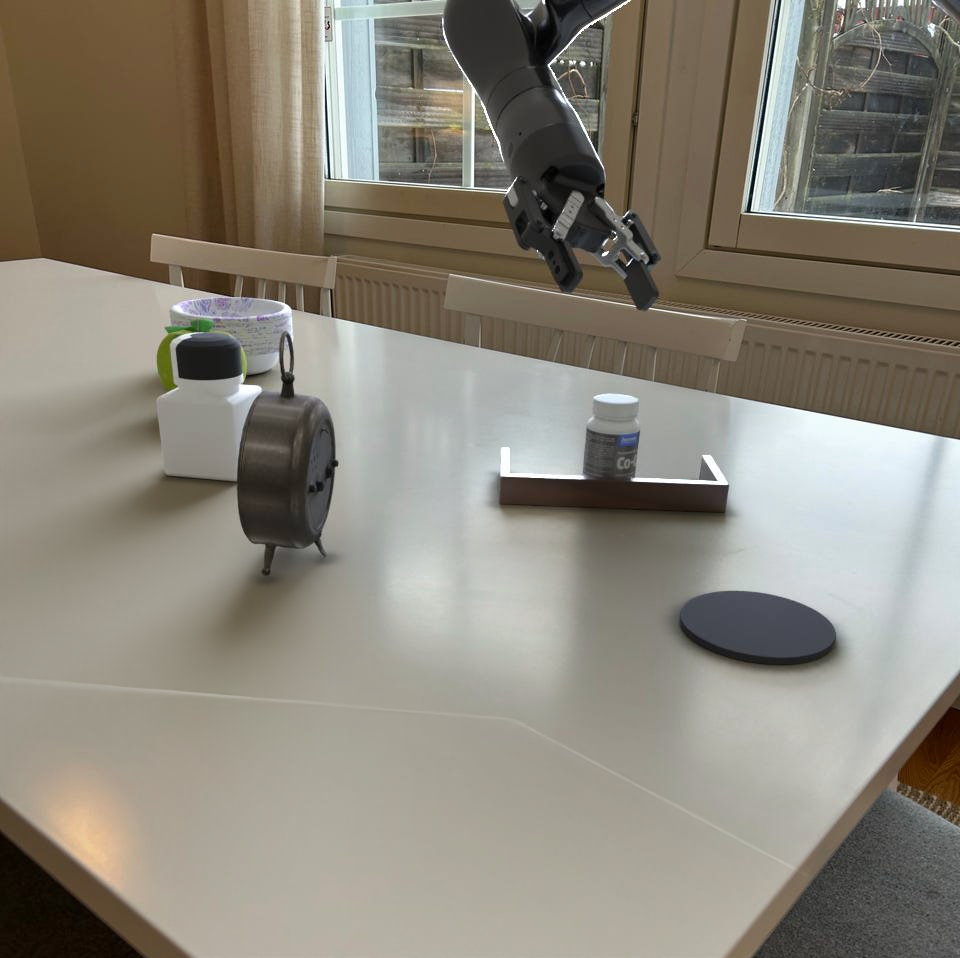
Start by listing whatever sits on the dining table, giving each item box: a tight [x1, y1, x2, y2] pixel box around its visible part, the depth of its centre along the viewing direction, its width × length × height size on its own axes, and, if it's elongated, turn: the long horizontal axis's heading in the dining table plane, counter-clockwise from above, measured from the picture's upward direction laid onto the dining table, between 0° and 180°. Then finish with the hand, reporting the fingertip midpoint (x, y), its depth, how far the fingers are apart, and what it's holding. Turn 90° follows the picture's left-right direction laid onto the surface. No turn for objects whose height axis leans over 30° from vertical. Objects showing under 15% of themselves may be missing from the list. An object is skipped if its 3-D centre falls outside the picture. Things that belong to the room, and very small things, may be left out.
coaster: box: [679, 590, 837, 666], centre depth 65 cm, size 10×10×1 cm
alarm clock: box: [236, 331, 339, 577], centre depth 70 cm, size 11×5×16 cm, turn 174°
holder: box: [498, 447, 730, 513], centre depth 88 cm, size 9×20×2 cm, turn 89°
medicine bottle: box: [155, 332, 263, 482], centre depth 89 cm, size 7×7×12 cm
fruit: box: [156, 319, 247, 393], centre depth 107 cm, size 9×9×10 cm
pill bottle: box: [581, 393, 641, 478], centre depth 87 cm, size 5×5×8 cm
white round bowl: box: [169, 296, 294, 376], centre depth 127 cm, size 15×15×8 cm
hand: (612, 295), depth 81 cm, fingers open, 8 cm apart
